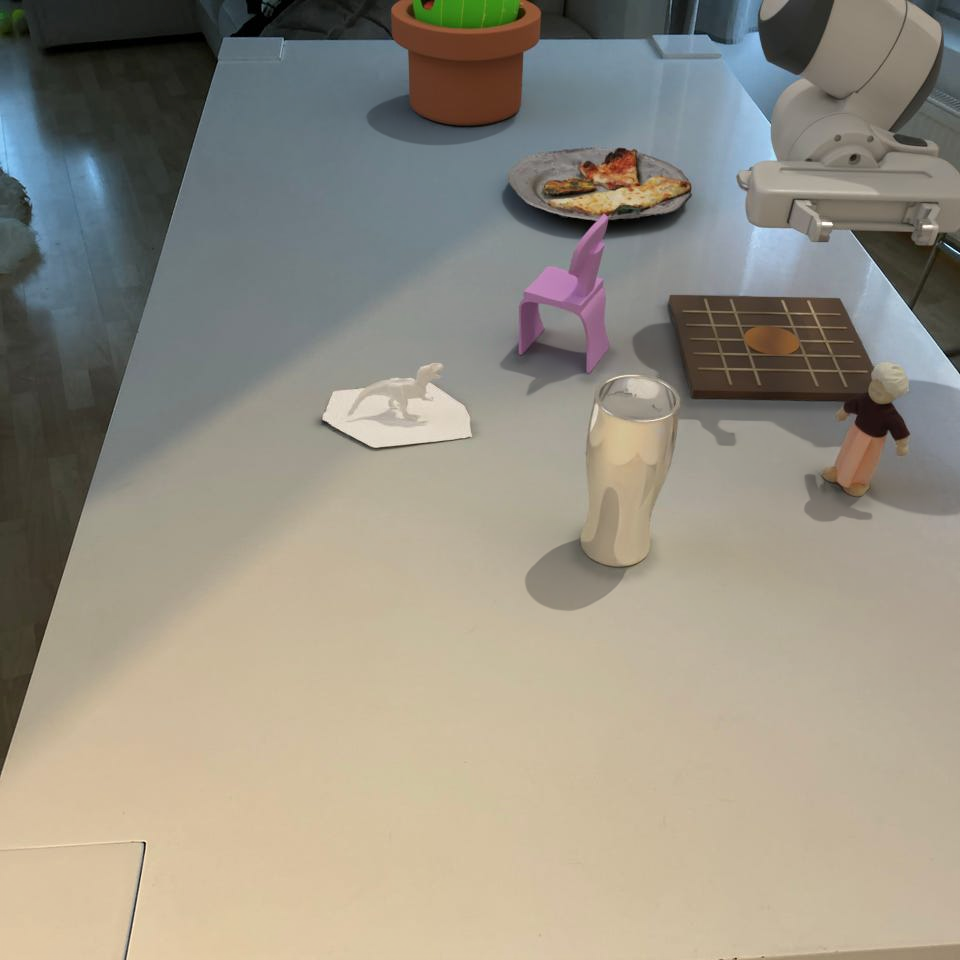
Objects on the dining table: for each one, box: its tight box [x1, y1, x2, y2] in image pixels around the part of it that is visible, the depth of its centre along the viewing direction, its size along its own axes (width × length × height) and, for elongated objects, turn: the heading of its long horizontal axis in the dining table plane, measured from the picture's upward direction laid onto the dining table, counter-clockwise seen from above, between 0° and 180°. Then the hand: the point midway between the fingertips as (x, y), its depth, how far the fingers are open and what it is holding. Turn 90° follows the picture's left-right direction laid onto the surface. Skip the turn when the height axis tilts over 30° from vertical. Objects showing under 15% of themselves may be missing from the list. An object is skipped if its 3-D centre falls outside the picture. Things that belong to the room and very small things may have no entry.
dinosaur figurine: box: [322, 362, 473, 449], centre depth 97 cm, size 15×12×6 cm
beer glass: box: [579, 373, 682, 568], centre depth 80 cm, size 7×7×15 cm
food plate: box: [507, 146, 693, 222], centre depth 134 cm, size 25×23×4 cm
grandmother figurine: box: [821, 361, 911, 497], centre depth 88 cm, size 8×4×13 cm, turn 47°
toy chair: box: [518, 214, 611, 374], centre depth 102 cm, size 8×9×15 cm
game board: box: [668, 294, 875, 402], centre depth 108 cm, size 20×20×1 cm
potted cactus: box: [390, 0, 542, 127], centre depth 148 cm, size 22×22×25 cm
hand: (875, 235), depth 87 cm, fingers open, 8 cm apart
